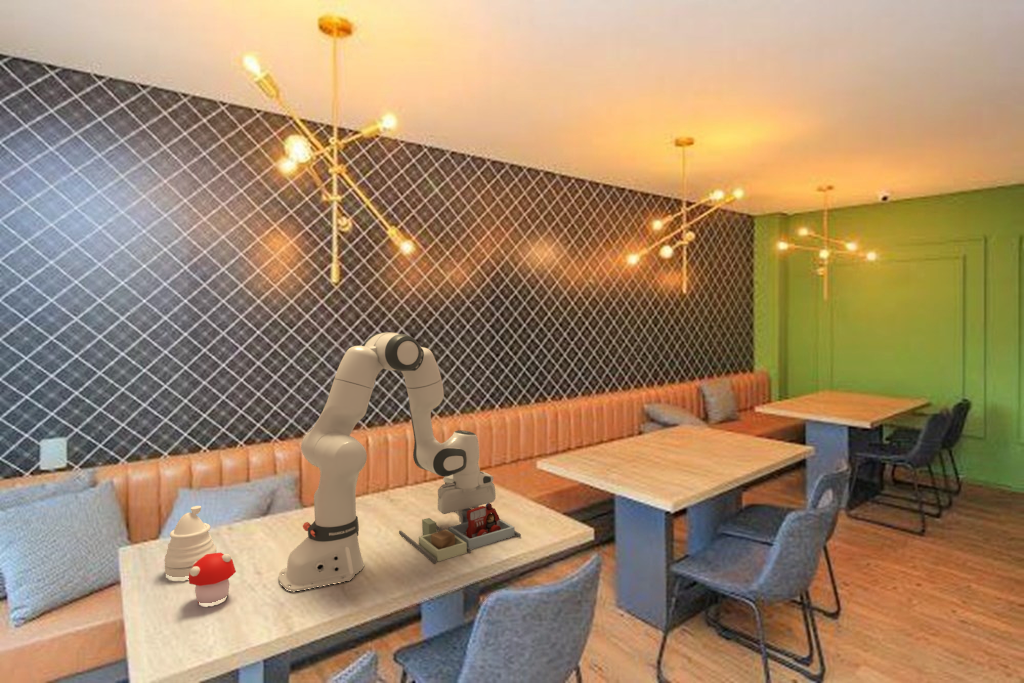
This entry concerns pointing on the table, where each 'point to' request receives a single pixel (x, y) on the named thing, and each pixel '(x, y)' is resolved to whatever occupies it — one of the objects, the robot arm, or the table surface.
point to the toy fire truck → (482, 521)
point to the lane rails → (426, 551)
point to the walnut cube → (442, 539)
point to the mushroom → (212, 577)
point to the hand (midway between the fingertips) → (467, 520)
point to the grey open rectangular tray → (483, 539)
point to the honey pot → (188, 544)
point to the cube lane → (441, 554)
